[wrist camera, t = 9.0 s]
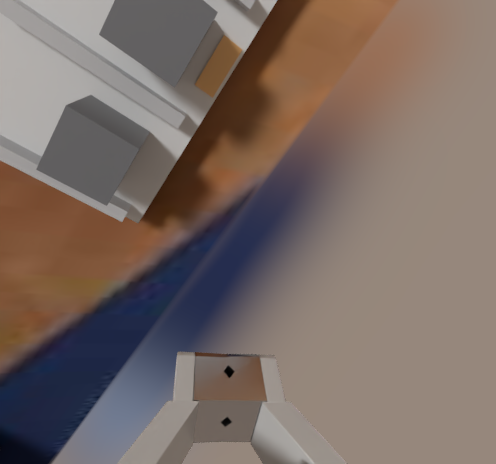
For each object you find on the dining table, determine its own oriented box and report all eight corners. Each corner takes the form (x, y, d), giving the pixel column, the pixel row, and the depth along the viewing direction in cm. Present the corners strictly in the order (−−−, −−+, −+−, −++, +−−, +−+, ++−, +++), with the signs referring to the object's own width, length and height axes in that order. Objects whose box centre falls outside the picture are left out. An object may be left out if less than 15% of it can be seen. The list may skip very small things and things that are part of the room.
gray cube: (122, 180, 21) (107, 206, 18) (64, 148, 20) (36, 169, 17) (150, 131, 20) (139, 149, 17) (91, 94, 19) (66, 105, 15)
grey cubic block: (179, 80, 19) (174, 87, 16) (118, 37, 18) (98, 34, 14) (214, 19, 18) (217, 12, 14) (152, -32, 17) (139, -53, 13)
